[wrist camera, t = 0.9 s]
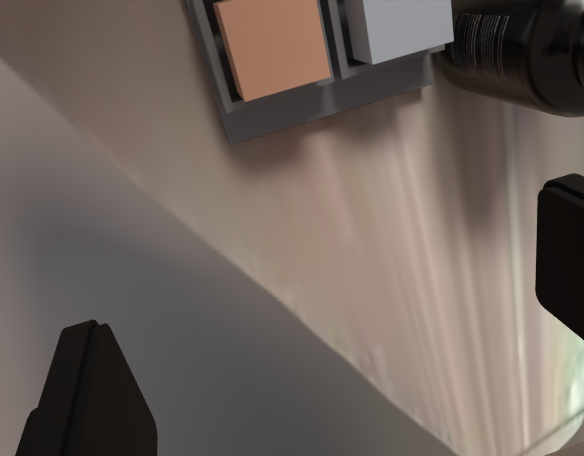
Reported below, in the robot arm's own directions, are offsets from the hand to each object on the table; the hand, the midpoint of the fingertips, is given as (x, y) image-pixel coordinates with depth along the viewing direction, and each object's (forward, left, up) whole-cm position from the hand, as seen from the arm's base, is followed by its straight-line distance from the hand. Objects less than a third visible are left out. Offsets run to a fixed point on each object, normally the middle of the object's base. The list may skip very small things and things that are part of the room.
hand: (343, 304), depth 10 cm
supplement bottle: (-1, +15, -20) cm, 25 cm away
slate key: (-4, +8, -16) cm, 18 cm away
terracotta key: (-4, +2, -16) cm, 17 cm away
